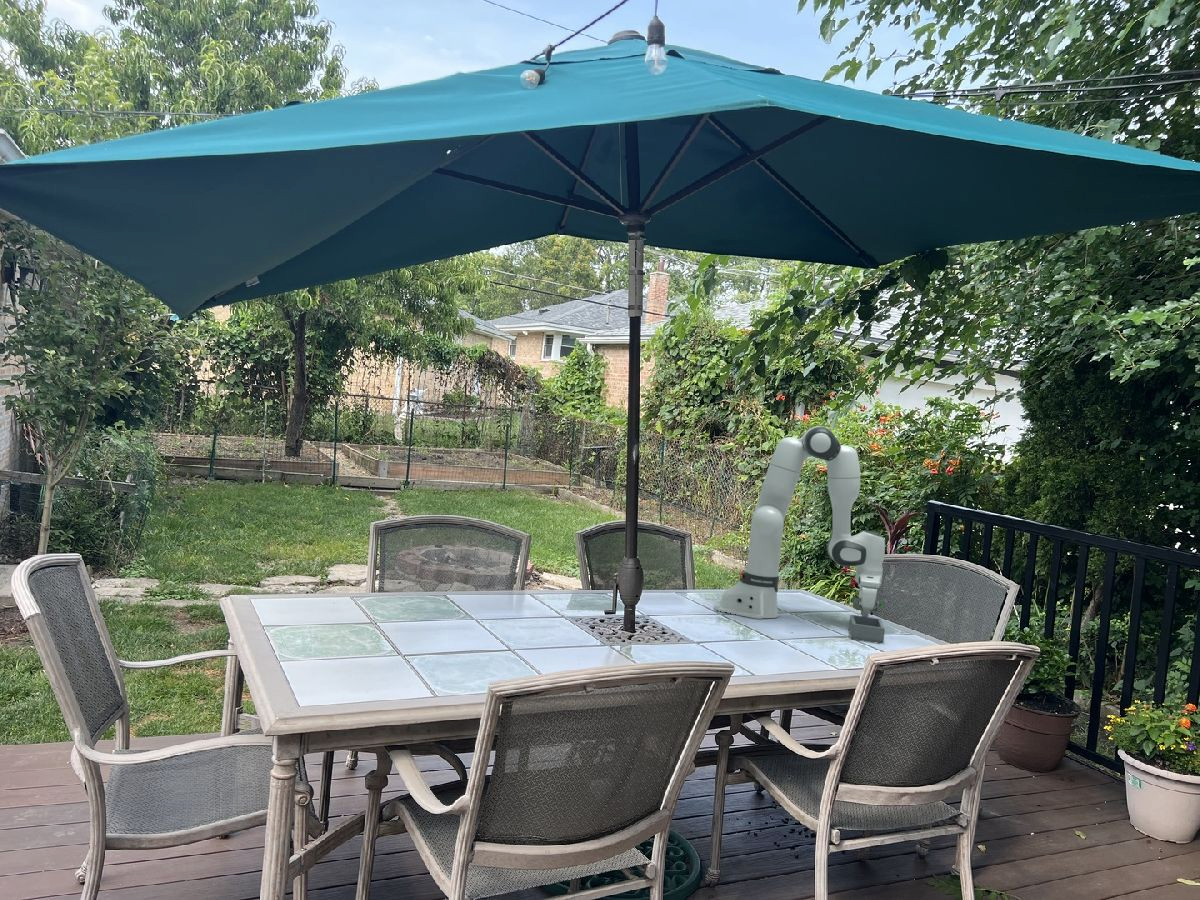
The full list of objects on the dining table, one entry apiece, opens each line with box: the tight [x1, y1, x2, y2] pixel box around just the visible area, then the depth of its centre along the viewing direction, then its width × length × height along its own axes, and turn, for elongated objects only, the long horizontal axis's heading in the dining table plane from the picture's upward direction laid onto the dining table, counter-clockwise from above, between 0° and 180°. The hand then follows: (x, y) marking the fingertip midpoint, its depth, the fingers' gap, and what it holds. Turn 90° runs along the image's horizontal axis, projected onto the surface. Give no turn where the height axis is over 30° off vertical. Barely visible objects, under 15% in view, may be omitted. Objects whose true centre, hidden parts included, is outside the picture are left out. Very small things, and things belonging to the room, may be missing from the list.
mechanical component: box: [849, 596, 882, 616], centre depth 295 cm, size 3×10×10 cm, turn 78°
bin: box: [848, 614, 886, 644], centre depth 282 cm, size 10×15×5 cm, turn 166°
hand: (864, 617), depth 295 cm, fingers open, 6 cm apart
